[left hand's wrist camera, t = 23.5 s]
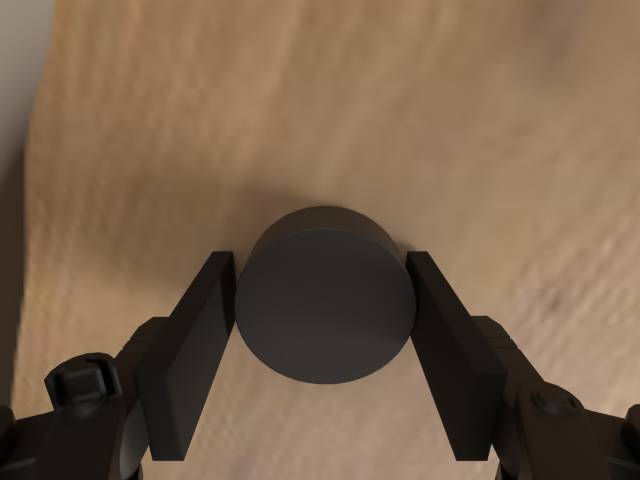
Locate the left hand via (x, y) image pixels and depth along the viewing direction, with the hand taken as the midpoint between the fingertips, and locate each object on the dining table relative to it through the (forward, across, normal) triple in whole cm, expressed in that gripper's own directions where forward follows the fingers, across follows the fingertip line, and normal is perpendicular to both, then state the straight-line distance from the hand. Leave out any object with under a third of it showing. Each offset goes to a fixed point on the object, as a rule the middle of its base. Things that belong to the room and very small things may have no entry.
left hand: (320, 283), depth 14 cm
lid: (-2, 0, 0) cm, 2 cm away
